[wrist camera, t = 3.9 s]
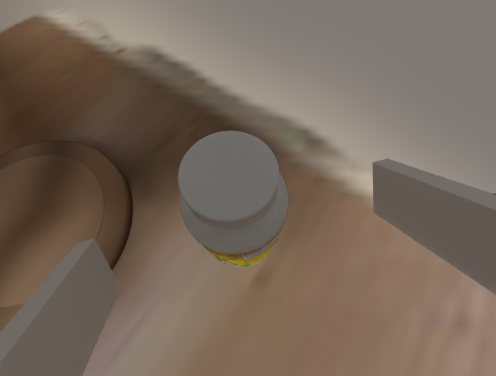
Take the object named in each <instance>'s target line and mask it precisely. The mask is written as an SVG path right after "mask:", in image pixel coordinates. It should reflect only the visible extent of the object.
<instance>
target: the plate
mask: <svg viewBox="0 0 496 376" xmlns="http://www.w3.org/2000/svg"><path fill="white" fill-rule="evenodd" d="M132 214H133V210H132V198H131V193H130V189H129V187H128V184H127V182H126V180H125V178H124V176H123V174H122V173H121V172H120V171H119V169H118V168H117V167H116V166H115V165H114V164H113V163H112V162H110V161H109V160H108V159H107V158H106V157H105V156H104V155H103V154H101V153H100V152H98V151H97V150H95V149H93V148H91V147H89V146H87V145H84V144H80V143H77V142H70V141H44V142H39V143H33V144H30V145H26V146H23V147H20V148H17V149H15V150H12V151H10V152H8V153H6V154H3V155H1V156H0V332H1V331H2V330H3V329H4V328H5V327H6V325H7V324H8V323H9V322H10V321H11V320H12V318H13V317H14V316H15V315H16V314H17V313H18V311H19V310H20V309H21V308H22V307H23V305H24V304H25V303H26V302H27V301H28V300H29V298H30V297H31V296H32V295H33V294H34V293H35V291H36V290H37V289H38V288H39V287H40V286H41V284H42V283H43V282H44V281H45V280H46V279H47V277H48V276H49V275H50V274H51V273H52V272H53V270H54V269H55V268H56V267H57V266H58V265H59V263H60V262H61V261H62V260H63V259H64V258H65V256H66V255H67V254H68V253H69V252H70V251H71V249H72V248H73V247H74V246H75V245H76V244H77V243H80V242H84V241H87V240H91V239H95V240H96V242H97V244H98V246H99V248H100V249H101V251H102V253H103V255H104V257H105V259H106V261H107V262H108V264H109V266H110V268H111V270H112V269H113V268H114V266H115V265H116V263H117V261H118V260H119V258H120V256H121V254H122V252H123V250H124V247H125V245H126V242H127V239H128V236H129V232H130V228H131V223H132Z"/></svg>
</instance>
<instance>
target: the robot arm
mask: <svg viewBox="0 0 496 376" xmlns="http://www.w3.org/2000/svg"><path fill="white" fill-rule="evenodd" d="M373 204H374V213H375V214H377V215H378V216H380V217H381V218H383V219H384V220H386V221H387V222H389V223H390V224H392V225H393V226H395V227H396V228H397V229H399V230H400V231H402V232H403V233H405V234H406V235H408V236H409V237H411V238H412V239H414V240H415V241H417V242H418V243H420V244H421V245H423V246H424V247H426V248H427V249H429V250H430V251H432V252H433V253H435V254H436V255H438V256H439V257H441V258H442V259H444V260H445V261H447V262H448V263H450V264H451V265H453V266H454V267H456V268H457V269H458V270H460V271H461V272H463V273H464V274H466V275H467V276H469V277H470V278H472V279H473V280H475V281H476V282H478V283H479V284H481V285H482V286H484V287H485V288H487V289H488V290H490V291H491V292H493V293H494V294H496V194H493V193H489V192H486V191H483V190H479V189H477V188H474V187H471V186H468V185H465V184H462V183H459V182H456V181H453V180H450V179H446V178H444V177H441V176H437V175H435V174H431V173H429V172H426V171H423V170H419V169H417V168H414V167H411V166H407V165H404V164H402V163H399V162H396V161H393V160H390V159H385V160H381V161H377V162H374V163H373ZM119 288H120V285H119V283H118V281H117V279H116V277H115V275H114V273H113V272H112V270H111V268H110V266H109V264H108V262H107V261H106V259H105V257H104V255H103V253H102V251H101V249H100V248H99V246H98V244H97V242H96V240H95V239H91V240H87V241H84V242H80V243H77V244H76V245H75V246H74V247H73V248H72V249H71V251H70V252H69V253H68V254H67V255H66V256H65V258H64V259H63V260H62V261H61V262H60V263H59V265H58V266H57V267H56V268H55V269H54V270H53V272H52V273H51V274H50V275H49V276H48V277H47V279H46V280H45V281H44V282H43V283H42V284H41V286H40V287H39V288H38V289H37V290H36V291H35V293H34V294H33V295H32V296H31V297H30V298H29V300H28V301H27V302H26V303H25V304H24V305H23V307H22V308H21V309H20V310H19V311H18V313H17V314H16V315H15V316H14V317H13V318H12V320H11V321H10V322H9V323H8V324H7V325H6V327H5V328H4V329H3V330H2V331H1V332H0V376H82V375H83V372H84V370H85V368H86V365H87V363H88V361H89V358H90V356H91V354H92V351H93V349H94V347H95V344H96V342H97V340H98V337H99V335H100V333H101V330H102V328H103V326H104V323H105V321H106V319H107V316H108V314H109V312H110V309H111V307H112V305H113V302H114V300H115V298H116V295H117V293H118V291H119Z"/></svg>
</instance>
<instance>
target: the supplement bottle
mask: <svg viewBox="0 0 496 376" xmlns="http://www.w3.org/2000/svg"><path fill="white" fill-rule="evenodd" d="M178 185H179V189H180V193H181V213H182V217H183V220H184V222H185V225H186V227H187V228H188V230H189V231H190V233H191V234H192V235H193V237H194V238H195V239H196V240H197V241H198V242H199V243H201V244H202V245H203V246H204V247H205V248H206V249H207V250H208V251H209V252H210V253H212V254H213V255H214V256H215V257H216V258H217V259H218V260H220V261H222V262H223V263H226V264H229V265H232V266H236V267H248V266H252V265H255V264H257V263H259V262H261V261H262V260H264V259H265V258H266V257H267V256H268V255H269V254H270V252H271V251H272V250H273V248H274V246H275V244H276V242H277V239H278V237H279V234H280V232H281V229H282V227H283V224H284V222H285V218H286V215H287V211H288V203H289V201H288V191H287V187H286V184H285V182H284V180H283V178H282V176H281V174H280V173H279V167H278V163H277V160H276V157H275V155H274V154H273V152H272V151H271V149H270V148H269V147H268V146H267V145H266V144H265V143H264V142H263V141H262V140H260V139H259V138H257V137H255V136H253V135H251V134H248V133H245V132H239V131H222V132H217V133H214V134H210V135H208V136H206V137H204V138H202V139H201V140H199V141H198V142H196V143H195V144H194V145H193V146H192V147H191V148H190V149H189V150H188V151H187V153H186V154H185V155H184V157H183V159H182V161H181V164H180V166H179V172H178Z"/></svg>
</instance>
